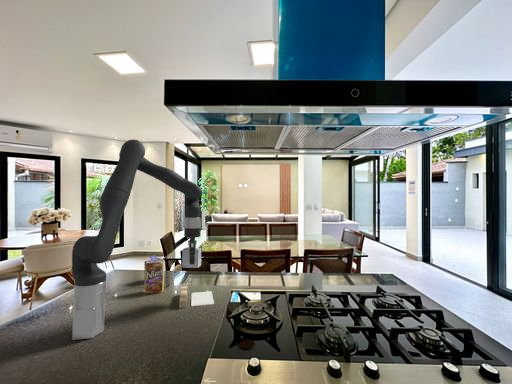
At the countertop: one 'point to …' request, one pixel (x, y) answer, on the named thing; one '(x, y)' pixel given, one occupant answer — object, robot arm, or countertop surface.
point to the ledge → (183, 296)
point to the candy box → (154, 276)
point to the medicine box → (187, 258)
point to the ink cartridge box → (152, 260)
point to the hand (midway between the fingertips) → (191, 262)
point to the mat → (202, 299)
